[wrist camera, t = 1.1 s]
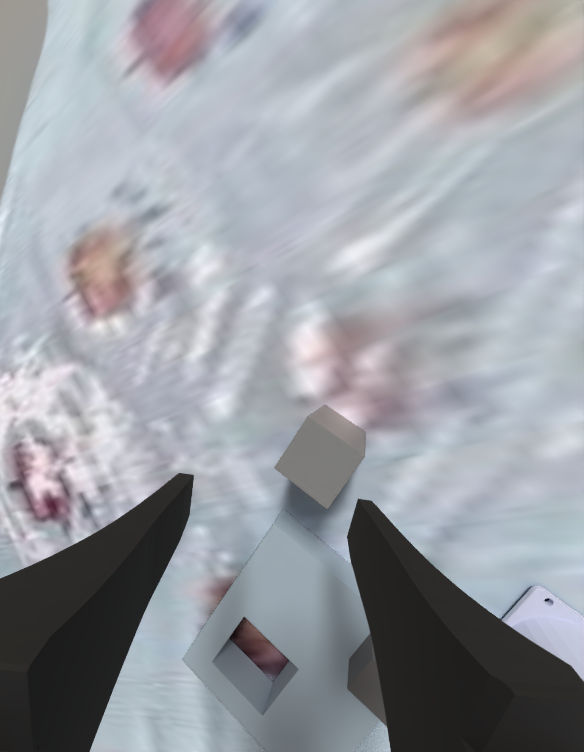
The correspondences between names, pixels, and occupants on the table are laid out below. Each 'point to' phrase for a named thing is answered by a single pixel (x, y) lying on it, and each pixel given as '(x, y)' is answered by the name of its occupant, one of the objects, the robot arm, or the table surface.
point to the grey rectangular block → (323, 455)
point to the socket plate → (295, 647)
